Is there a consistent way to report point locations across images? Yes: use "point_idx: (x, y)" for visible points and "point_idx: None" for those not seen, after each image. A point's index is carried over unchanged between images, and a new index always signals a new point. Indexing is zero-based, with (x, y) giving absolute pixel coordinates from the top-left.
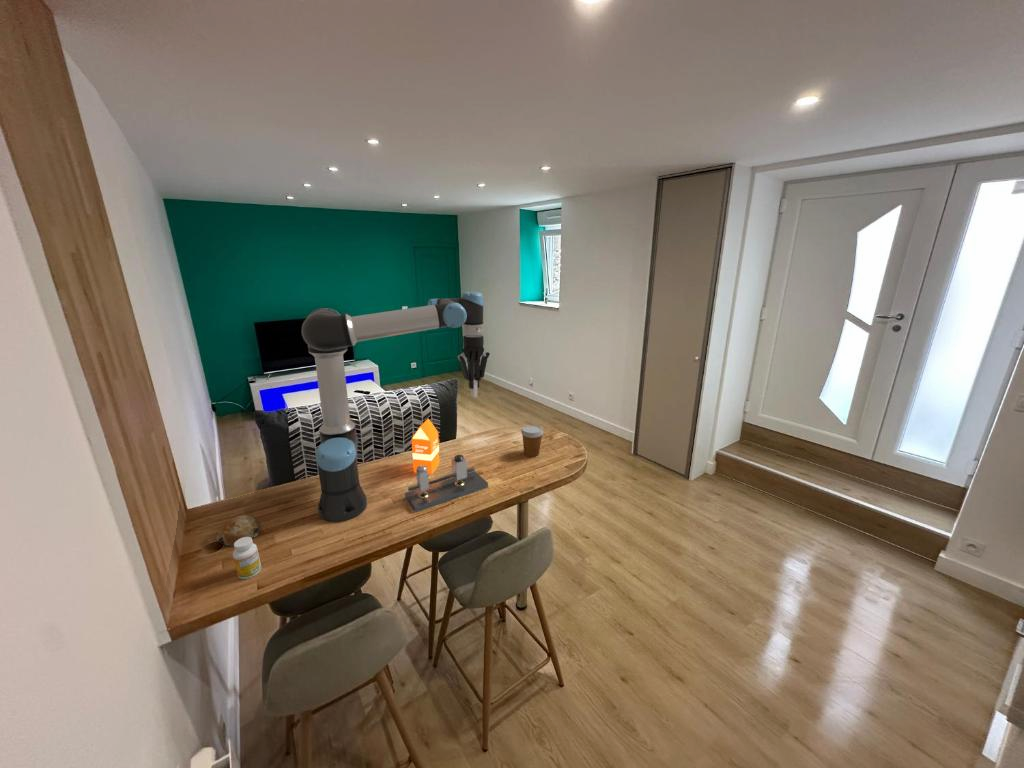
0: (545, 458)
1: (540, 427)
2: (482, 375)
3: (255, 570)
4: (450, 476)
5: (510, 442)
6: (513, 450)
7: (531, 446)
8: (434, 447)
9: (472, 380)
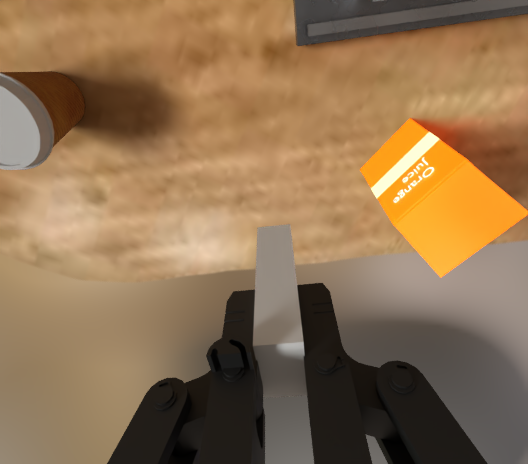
0: (11, 44)
1: None
2: (163, 406)
3: None
4: (413, 9)
5: (112, 202)
6: (116, 151)
7: (40, 78)
8: (414, 169)
9: (322, 352)
